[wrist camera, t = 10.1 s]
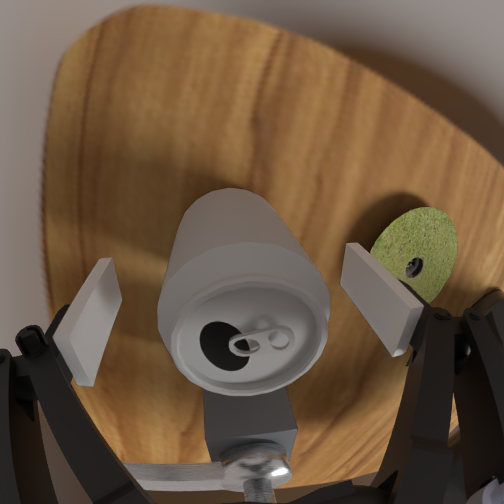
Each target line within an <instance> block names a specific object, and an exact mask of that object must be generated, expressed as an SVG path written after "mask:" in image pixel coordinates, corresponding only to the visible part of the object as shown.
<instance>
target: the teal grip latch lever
mask: <svg viewBox="0 0 504 504" xmlns="http://www.w3.org/2000/svg"><path fill="white" fill-rule="evenodd" d="M122 463H123V465H124V466H125V467H126V468H127V470H128V471H129V472H130V473H131V475H132V476H133V477H134V478H135V479H136V481H137V482H138V483H139V484H140V485H141V486H142V488H143V489H144V490H160V491H202V490H221V489H227V490H230V491H237V492H244V494H245V500H246V502H247V501H251V502H263V503H276V499H275V495H274V490H273V488H275V487H278V486H280V485H283V484H285V483H286V482H288V481H289V480H290V479H291V478H292V472H291V468H290V464H289V460H288V457H287V453H286V449H285V448H284V447H282V446H280V445H277V444H272V443H254V444H246V445H241V446H237V447H234V448H231V449H229V450H227V451H225V452H223V453H222V454H221V455H220V456H219V462H211V463H193V464H146V463H128V462H122Z"/></svg>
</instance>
